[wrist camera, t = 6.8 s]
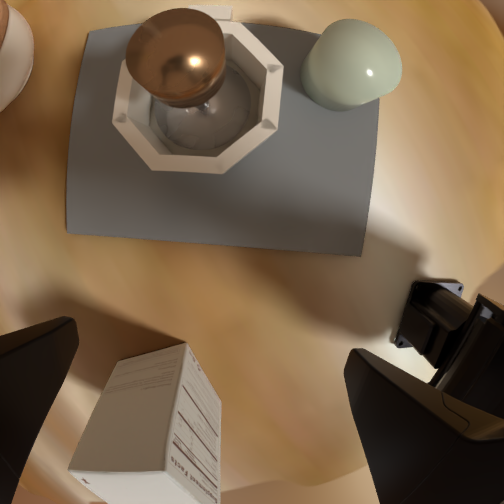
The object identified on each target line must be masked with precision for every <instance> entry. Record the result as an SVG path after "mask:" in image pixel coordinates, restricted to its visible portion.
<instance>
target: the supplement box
mask: <svg viewBox="0 0 504 504" xmlns="http://www.w3.org/2000/svg"><path fill="white" fill-rule="evenodd" d="M220 444H221V400H220V399H219V397H218V395H217V394H216V392H215V390H214V389H213V387H212V385H211V384H210V382H209V380H208V379H207V377H206V375H205V373H204V372H203V370H202V368H201V367H200V365H199V363H198V361H197V359H196V358H195V356H194V354H193V353H192V351H191V349H190V347H189V345H188V344H187V343H183V344H179V345H176V346H172V347H169V348H165V349H162V350H158V351H155V352H151V353H147V354H144V355H140V356H136V357H132V358H128V359H125V360H121V361H117V364H116V366H115V368H114V370H113V372H112V374H111V376H110V377H109V380H108V382H107V384H106V386H105V388H104V390H103V392H102V394H101V396H100V398H99V400H98V402H97V404H96V406H95V408H94V410H93V412H92V415H91V417H90V419H89V421H88V423H87V425H86V428H85V430H84V432H83V434H82V436H81V439H80V441H79V443H78V446H77V448H76V450H75V452H74V455H73V457H72V459H71V462H70V464H69V467H68V471H69V472H70V473H71V474H72V475H73V476H74V477H75V478H76V479H77V480H78V481H79V482H81V483H82V484H83V485H84V486H85V487H87V488H88V489H89V490H90V491H92V492H93V493H94V494H96V495H97V496H98V497H100V498H101V499H103V500H104V501H105V502H107V503H108V504H220Z"/></svg>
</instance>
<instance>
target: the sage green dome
mask: <svg viewBox="0 0 504 504" xmlns="http://www.w3.org/2000/svg"><path fill="white" fill-rule="evenodd" d="M401 75H402V63H401V58H400V55H399V53H398V51H397V49H396V47H395V45H394V44H393V42H392V41H391V40H390V39H389V38H388V36H387V35H385V34H384V33H383V32H382V31H381V30H379V29H378V28H376V27H375V26H373V25H371V24H369V23H367V22H364V21H360V20H355V19H343V20H339V21H336V22H334V23H332V24H331V25H329V26H328V27H327V28H326V29H325V31H324V32H323V33H322V35H321V36H320V38H319V39H318V41H317V42H316V43H315V45H314V46H313V48H312V49H311V51H310V52H309V54H308V55H307V56H306V58H305V59H304V61H303V63H302V66H301V70H300V78H301V82H302V85H303V88H304V90H305V91H306V93H307V94H308V96H309V97H310V98H311V99H312V100H313V101H314V102H315V103H317V104H318V105H320V106H321V107H323V108H325V109H328V110H331V111H337V112H344V111H349V110H352V109H354V108H356V107H359V106H361V105H363V104H365V103H368V102H370V101H372V100H374V99H377V98H379V97H381V96H384V95H386V94H388V93H390V92H391V91H393V90H394V89H395V88H396V86H397V85H398V83H399V82H400V79H401Z"/></svg>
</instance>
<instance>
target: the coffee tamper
mask: <svg viewBox="0 0 504 504" xmlns="http://www.w3.org/2000/svg"><path fill="white" fill-rule="evenodd" d="M126 66H127V69H128V71H129V73H130V75H131V76H132V77H133V79H134V80H135V81H136V82H138V83H139V84H140V85H141V86H142V87H143V88H145V89H146V90H147V91H148V92H149V93H150V94H152V95H153V96H154V97H155V98H156V99H155V117H156V121H157V123H158V126H159V128H160V129H161V131H162V132H163V134H164V135H165V136H166V137H167V138H168V139H169V140H171V141H172V142H173V143H175V144H177V145H179V146H181V147H184V148H187V149H191V150H210V149H214V148H217V147H220V146H222V145H224V144H226V143H228V142H229V141H231V140H232V139H234V138H235V137H236V136H237V135H238V134H239V133H240V131H241V130H242V129H243V127H244V126H245V124H246V122H247V120H248V117H249V113H250V108H251V96H250V92H249V88H248V86H247V84H246V82H245V80H244V79H243V78H242V76H241V75H240V74H239V73H238V72H237V71H236V70H234V69H233V68H231V67H230V66H228V65H226V59H225V46H224V36H223V32H222V30H221V28H220V26H219V24H218V23H217V22H216V21H215V20H214V19H213V18H212V17H211V16H209V15H208V14H206V13H204V12H202V11H199V10H195V9H189V8H178V9H171V10H167V11H164V12H161V13H159V14H156V15H154V16H153V17H151V18H149V19H148V20H146V21H145V22H144V23H143V24H142V25H141V26H140V27H139V28H138V29H137V30H136V31H135V32H134V34H133V35H132V37H131V39H130V41H129V43H128V46H127V49H126Z"/></svg>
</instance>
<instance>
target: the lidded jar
mask: <svg viewBox="0 0 504 504" xmlns="http://www.w3.org/2000/svg"><path fill="white" fill-rule="evenodd" d="M33 54H34V40H33V34H32V31H31V28H30V26H29V24H28V23H27V21H26V20H25V18H24V17H23V16H22V15H21V14H20V13H19V12H18V11H17V10H15V9H14V8H12V7H11V6H9V5H8V4H7V3H6V2H5V1H4V0H0V112H2V111H3V110H4V109H5V108H6V107H7V106H8V105H9V104H10V103H11V102H12V101H13V100H14V99H15V98H16V97H17V96H18V95H19V94H20V92H21V91H22V90H23V88H24V87H25V85H26V83H27V81H28V79H29V77H30V74H31V71H32V67H33V61H34V56H33Z"/></svg>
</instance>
